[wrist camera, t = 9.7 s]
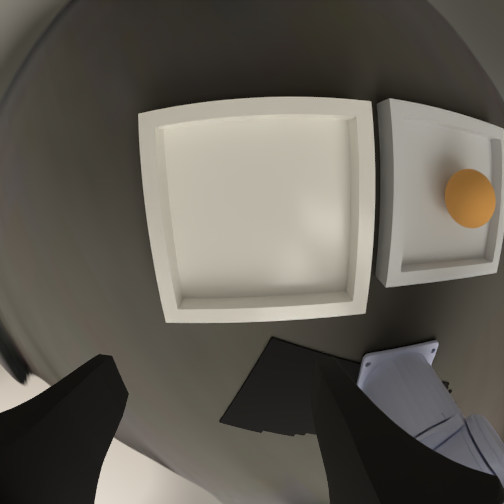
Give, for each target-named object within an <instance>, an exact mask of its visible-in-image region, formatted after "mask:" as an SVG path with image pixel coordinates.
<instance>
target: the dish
mask: <svg viewBox="0 0 504 504" xmlns="http://www.w3.org/2000/svg"><path fill="white" fill-rule="evenodd" d="M138 123H139V144H140V159H141V172H142V182H143V192H144V201H145V209H146V217H147V224H148V231H149V238H150V244H151V250H152V256H153V262H154V268H155V273H156V278H157V283H158V288H159V293H160V298H161V303H162V307H163V312H164V316H165V320H166V323H232V322H263V321H283V320H299V319H312V318H325V317H336V316H346V315H356V314H365V313H366V306H367V299H368V291H369V283H370V274H371V264H372V252H373V238H374V219H375V147H374V129H373V116H372V105H371V101H363V100H353V99H341V98H324V97H259V98H242V99H229V100H219V101H210V102H202V103H194V104H187V105H181V106H175V107H169V108H164V109H158V110H153V111H149V112H144V113H139V114H138Z"/></svg>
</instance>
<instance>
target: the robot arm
mask: <svg viewBox="0 0 504 504" xmlns="http://www.w3.org/2000/svg"><path fill="white" fill-rule="evenodd" d="M438 345H439V343H438V341H437V340H433V341H429V342H425V343H420V344H416V345H411V346H406V347H401V348H396V349H391V350H385V351H379V352H373V353H368V354H366V355H365V356H364V357H363V359H362V363H361V368H360V372H359V376H358V380H357V384H356V383H355V382H354V381H353V380H352V378H351V377H350V376H349V375H348V374H347V372H346V371H345V370H344V369H343V367H342V366H341V365H340V364H339V362H338V361H337V360H336V359H335V358H334V357H326V358H317V359H315V366H314V376H313V385H312V393H311V404H312V413H313V420H314V426H315V430H316V434H317V438H318V442H319V446H320V450H321V454H322V459H323V463H324V467H325V471H326V475H327V481H328V487H329V497H330V504H504V444H503V442H502V440H501V439H500V437H499V435H498V434H497V432H496V431H495V429H494V428H493V427H492V425H491V424H490V423H489V421H488V420H487V419H486V418H485V417H484V416H483V415H482V414H476V415H475V414H471V415H470V416H469V417H468V418H466V417H464V416H463V414H462V412H461V411H460V409H459V407H458V406H457V404H456V403H455V401H454V400H453V398H452V397H451V395H450V393H449V392H448V390H447V389H446V387H445V386H444V384H443V383H442V381H441V380H440V378H439V377H438V376H437V374H436V373H435V371H434V370H433V368H432V367H431V364H432V362H433V359H434V356H435V354H436V351H437V348H438ZM368 362H369V363H368ZM366 363H367V364H366ZM128 394H129V393H128V391H127V389H126V387H125V385H124V383H123V380H122V378H121V376H120V374H119V371H118V369H117V367H116V364H115V362H114V359H113V357H112V356H109V355H102V354H99V355H97V356H95V357H94V358H92V359H91V360H89V361H88V362H86V363H85V364H83V365H82V366H80V367H79V368H77V369H76V370H75V371H73V372H72V373H70V374H69V375H67V376H66V377H65V378H63V379H62V380H60V381H59V382H57V383H56V384H54V385H53V386H51V387H50V388H48V389H47V390H45V391H43V392H42V393H40V394H39V395H37V396H35V397H34V398H32V399H30V400H28V401H27V402H24V403H22V404H21V405H18V406H16V407H14V408H12V409H9V410H6V411H4V412H1V413H0V504H94V500H95V494H96V489H97V484H98V479H99V475H100V471H101V467H102V464H103V461H104V458H105V456H106V453H107V451H108V449H109V446H110V444H111V442H112V439H113V437H114V435H115V433H116V430H117V428H118V426H119V423H120V421H121V418H122V416H123V413H124V409H125V406H126V402H127V398H128Z"/></svg>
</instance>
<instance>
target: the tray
mask: <svg viewBox="0 0 504 504" xmlns="http://www.w3.org/2000/svg"><path fill="white" fill-rule="evenodd" d="M377 115H378V128H379V145H380V218H379V236H378V250H377V261H376V271H375V276H376V277H377V279H378V280H379V281H380V282H381V283H382V284H383V285H384V286H385V287H396V286H405V285H414V284H422V283H430V282H438V281H445V280H452V279H460V278H466V277H473V276H479V275H486V274H492V273H497V268H498V263H499V258H500V253H501V247H502V241H503V234H504V129H503V128H500V127H498V126H495V125H492V124H490V123H487V122H484V121H481V120H478V119H475V118H472V117H469V116H465V115H462V114H459V113H455V112H452V111H448V110H444V109H440V108H436V107H432V106H427V105H423V104H418V103H413V102H408V101H403V100H397V99H391V98H389V99H386V100H384V101H382V102H380V103H377ZM463 169H474V170H477V171H479V172H481V173H482V174H483V175H485V176H486V177H487V178H488V180H489V181H490V183H491V185H492V186H493V189H494V192H495V198H496V204H495V210H494V213H493V215H492V217H491V218H490V220H489V221H488V222H487V223H486V224H484V225H483V226H481V227H478V228H466V227H463V226H461V225H460V224H458V223H457V222H456V221H455V220H454V219H453V218H452V217H451V215H450V214H449V212H448V210H447V207H446V203H445V189H446V186H447V183H448V181H449V179H450V178H451V177H452V175H453V174H455V173H456V172H458V171H460V170H463Z"/></svg>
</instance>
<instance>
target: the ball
mask: <svg viewBox="0 0 504 504" xmlns="http://www.w3.org/2000/svg"><path fill="white" fill-rule="evenodd" d="M445 203H446V207H447V210H448V212H449V214H450V215H451V217H452V218H453V219H454V220H455V221H456V222H457V223H458V224H460V225H461V226H463V227H466V228H478V227H481V226H483V225H484V224H486V223H487V222H488V221H489V220H490V218H491V217H492V215H493V213H494V210H495V204H496V198H495V192H494V189H493V186H492V185H491V183H490V181H489V180H488V178H487V177H486V176H485V175H483V174H482V173H481V172H479V171H477V170H474V169H463V170H460V171H458V172H456V173H455V174H453V175H452V177H451V178H450V179H449V181H448V183H447V186H446V189H445Z"/></svg>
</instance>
